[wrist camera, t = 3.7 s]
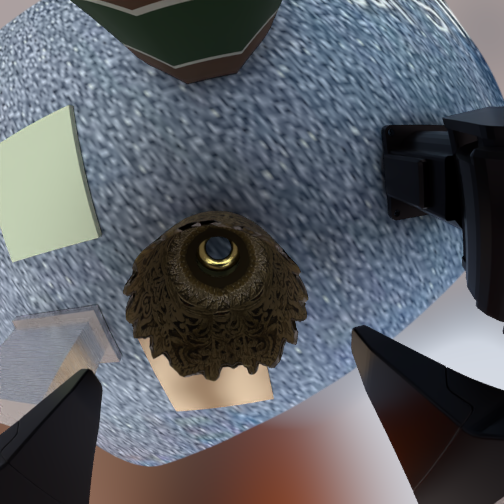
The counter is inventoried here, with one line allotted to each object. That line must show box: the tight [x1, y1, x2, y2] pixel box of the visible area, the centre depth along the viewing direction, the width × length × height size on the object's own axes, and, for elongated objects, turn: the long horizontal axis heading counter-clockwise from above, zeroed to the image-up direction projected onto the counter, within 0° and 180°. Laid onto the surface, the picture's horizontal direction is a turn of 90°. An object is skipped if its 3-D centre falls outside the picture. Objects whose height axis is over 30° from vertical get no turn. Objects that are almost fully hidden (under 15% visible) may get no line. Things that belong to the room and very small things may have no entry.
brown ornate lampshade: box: [123, 211, 308, 381], centre depth 15 cm, size 8×7×8 cm
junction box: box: [0, 305, 122, 426], centre depth 15 cm, size 10×5×10 cm, turn 100°
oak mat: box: [138, 337, 274, 411], centre depth 22 cm, size 9×9×1 cm
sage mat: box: [0, 105, 102, 262], centre depth 15 cm, size 9×9×1 cm
